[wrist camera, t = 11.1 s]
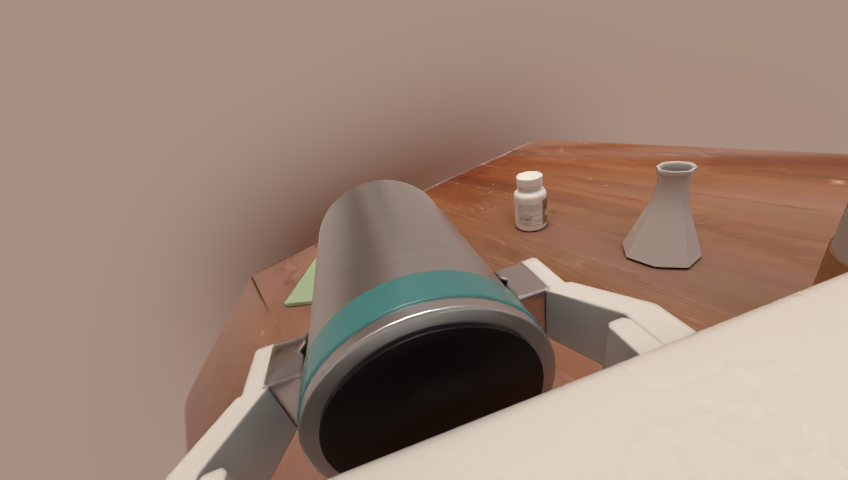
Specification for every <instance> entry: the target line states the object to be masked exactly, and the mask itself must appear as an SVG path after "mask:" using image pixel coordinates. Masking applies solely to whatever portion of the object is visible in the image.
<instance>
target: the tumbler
mask: <svg viewBox="0 0 848 480" xmlns="http://www.w3.org/2000/svg"><path fill="white" fill-rule="evenodd" d="M555 368H556V365H555V355H554V352H553V349H552V345H551V343H550V341H549V339H548V337H547V336H546V334H545V332H544V331H543V329H542V327H541V325H540V324H539V322H538V321H537V320H536V319H535V318H534V317H533V315H532V314H531V313H530V312H529V311H528V310H527V309H526V307H525V306H524V305H523V304H522V303H521V302H520V300H519V299H518V298H517V297H516V296H515V295H514V293H513V292H511V291H510V290H509V289H508V288H506V287H505V286H504V284H503V283H502V282H501V281H500V280H499V279H498V277H497V276H496V275H495V274H494V273H493V271H492V270H491V269H490V268H489V267H488V266H487V264H486V263H485V262H484V261H483V260H482V258H481V257H480V256H479V255H478V254H477V253H476V251H475V250H474V249H473V248H472V247H471V245H470V244H469V243H468V242H467V241H466V240H465V238H464V237H463V236H462V235H461V234H460V233H459V231H458V230H457V229H456V228H455V227H454V225H453V224H452V223H451V222H450V221H449V220H448V218H447V217H446V216H445V215H444V214H443V212H442V211H441V210H440V209H439V208H438V207H437V205H436V204H435V203H434V202H433V201H432V199H431V198H430V197H429V196H428V195H426V194H425V193H424V192H423V191H421V190H419V189H418V188H416V187H414V186H412V185H410V184H407V183H404V182H400V181H395V180H377V181H371V182H367V183H364V184H361V185H358V186H356V187H354V188H352V189H350V190H349V191H347V192H345V193H344V194H343V195H341V196H340V197H339V198H338V199H337V200H336V201H335V202H334V203H333V204H332V206H331V207H330V208H329V210H328V211H327V213H326V214H325V217H324V219H323V221H322V224H321V228H320V233H319V242H318V251H317V260H316V269H315V278H314V288H313V297H312V306H311V315H310V324H309V333H308V342H307V352H306V358H305V361H304V364H303V368H302V375H301V384H300V392H299V401H298V411H297V420H298V433H299V441H300V444H301V447H302V450H303V453H304V455H305V456H306V458H307V459H308V461H309V463H310V464H311V465H312V466H313V467H314V468H315V469H316V470H317V471H318V472H319V473H321V474H322V475H324V476H325V477H326V478H331V477H333V476H336V475H338V474H341V473H343V472H346V471H348V470H351V469H353V468H356V467H358V466H361V465H363V464H366V463H368V462H371V461H373V460H376V459H378V458H381V457H383V456H386V455H388V454H391V453H394V452H396V451H399V450H401V449H404V448H406V447H409V446H411V445H414V444H416V443H419V442H421V441H424V440H426V439H429V438H431V437H434V436H436V435H439V434H442V433H444V432H447V431H449V430H452V429H454V428H457V427H459V426H462V425H464V424H467V423H469V422H472V421H474V420H477V419H479V418H482V417H484V416H487V415H489V414H492V413H494V412H497V411H499V410H502V409H504V408H507V407H510V406H512V405H515V404H517V403H520V402H522V401H525V400H527V399H530V398H532V397H535V396H537V395H540V394H542V393H545V392H547V391H550V390H551V389H552V386H553V382H554V378H555Z"/></svg>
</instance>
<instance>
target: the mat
mask: <svg viewBox="0 0 848 480" xmlns="http://www.w3.org/2000/svg"><path fill="white" fill-rule="evenodd" d="M316 260H317V257H316V258H315V260H314V261H313V263H312V264H311V266H310V267H309V268H308V270H307V271H306V273H305V274H304V276H303V277H302V278H301V280H300V281H299V283H298V284H297V286H296V287H295V289H294V290H293V291H292V293H291V294H290V296H289V297H288V299H287V300H286V301H285V303H284V305H285V307H290V306H300V305H309V304H312V297H313V288H314V278H315V269H316Z"/></svg>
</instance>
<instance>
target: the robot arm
mask: <svg viewBox="0 0 848 480" xmlns="http://www.w3.org/2000/svg"><path fill="white" fill-rule="evenodd" d="M493 273H494V274H495V275H496V276H497V277H498V279H499V280H500V281H501V282H502V283H503V284H504V286H505V287H506V288H508V289H509V290H510V291H511V292H513V293H514V295H515V296H516V297H517V298H518V299H519V300H520V302H521V303H522V304H523V305H524V306H525V307H526V309H527V310H528V311H529V312H530V313H531V314H532V315H533V317H534V318H535V319H536V320H537V321H538V322H539V324H540V325H541V327H542V329H543V331H544V332H545V334H546V336H547V337H549V338H551V339H553V340H555V341H557V342H559V343H561V344H563V345H565V346H566V347H568V348H570V349H572V350H574V351H576V352H578V353H580V354H582V355H584V356H586V357H588V358H590V359H592V360H594V361H596V362H598V363H600V364H601V365H603V369H602V370H600V371H597V372H595V373H592V374H590V375H587V376H585V377H582V378H580V379H577V380H575V381H572V382H570V383H567V384H565V385H562V386H560V387H557V388H555V389H552V390H550V391H547V392H545V393H542V394H540V395H537V396H535V397H532V398H530V399H527V400H525V401H522V402H520V403H517V404H515V405H512V406H510V407H507V408H504V409H502V410H499V411H497V412H494V413H492V414H489V415H487V416H484V417H482V418H479V419H477V420H474V421H472V422H469V423H467V424H464V425H462V426H459V427H457V428H454V429H452V430H449V431H447V432H444V433H442V434H439V435H436V436H434V437H431V438H429V439H426V440H424V441H421V442H419V443H416V444H414V445H411V446H409V447H406V448H404V449H401V450H399V451H396V452H394V453H391V454H388V455H386V456H383V457H381V458H378V459H376V460H373V461H371V462H368V463H366V464H363V465H361V466H358V467H356V468H353V469H351V470H348V471H346V472H343V473H341V474H338V475H336V476H333V477H331V478H328V479H325V480H848V272H846V273H844V274H841V275H839V276H836V277H834V278H831V279H829V280H826V281H824V282H821V283H819V284H816V285H814V286H811V287H809V288H806V289H804V290H801V291H799V292H796V293H794V294H791V295H789V296H786V297H784V298H781V299H779V300H776V301H774V302H771V303H769V304H766V305H764V306H761V307H759V308H756V309H754V310H751V311H749V312H746V313H744V314H741V315H739V316H736V317H734V318H731V319H728V320H726V321H723V322H721V323H718V324H716V325H713V326H711V327H708V328H706V329H703V330H701V331H698V332H697V331H695V330H694V329H692V328H691V327H689V326H688V325H686V324H685V323H683V322H682V321H680V320H679V319H677V318H676V317H674V316H673V315H672V314H670V313H669V312H667V311H666V310H664V309H663V308H661V307H660V306H658V305H657V304H655V303H651V302H647V301H643V300H639V299H635V298H632V297H628V296H624V295H620V294H616V293H612V292H608V291H605V290H601V289H597V288H593V287H589V286H585V285H581V284H577V283H574V282H567V283H565V282H564V281H563V280H562V279H561V278H559V277H558V276H557V275H556V274H555V273H553V272H552V271H551V270H550V269H549V268H547V267H546V266H545V265H544V264H543V263H541V262H540V261H539V260H538V259H537V258H534V257H533V258H530V259H527V260H524V261H522V262H519V263H517V264H514V265H511V266H508V267H505V268H502V269H499V270H497V271H494V272H493ZM307 342H308V333H307V334H304V335H301V336H298V337H294V338H291V339H288V340H285V341H281V342H278V343H276V344H272V345H269V346H266V347H263V348H260V349H258V350H257V351H256V352H255V355H254V358H253V361H252V364H251V368H250V371H249V374H248V377H247V381H246V384H245V387H244V390H243V394H242V397H239V398H236V399H235V400H234V401H233V403H232V404H231V405H230V406H229V407H228V408H227V409H226V410H225V412H224V413H223V414H222V415H221V416H220V417H219V418H218V420H217V421H216V422H215V423H214V424H213V425H212V426H211V427H210V429H209V430H208V431H207V432H206V433H205V434H204V435H203V436H202V438H201V439H200V440H199V441H198V442H197V443H196V444H195V445H194V447H193V448H192V449H191V450H190V451H189V452H188V453H187V455H186V456H185V457H184V458H183V459H182V460H181V461H180V463H179V464H178V465H177V466H176V467H175V468H174V469H173V471H172V472H171V473H170V474H169V475H168V476H167V477H166V478H165V479H164V480H270V479H271V477H272V475H273V474H274V472H275V470H276V468H277V466H278V464H279V462H280V460H281V459H282V457H283V455H284V453H285V451H286V449H287V447H288V445H289V444H290V442H291V440H292V438H293V436H294V434H295V432H296V430H297V427H298V420H297V411H298V401H299V392H300V384H301V375H302V368H303V364H304V361H305V358H306V352H307Z"/></svg>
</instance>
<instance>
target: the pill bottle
mask: <svg viewBox="0 0 848 480" xmlns="http://www.w3.org/2000/svg"><path fill="white" fill-rule="evenodd" d="M542 184H543V175H542V173H540V172H537V171H527V172H523V173H520V174H518V175H517V176H516V185H517V188H518V189H517V190H516V191H515V192H514V209H515V224H516V226H517V228H519V229H520V230H523V231H536V230H540V229H542V228H544V227H545V226H546V224H547V193H546V190H545V188H543V187H542Z"/></svg>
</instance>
